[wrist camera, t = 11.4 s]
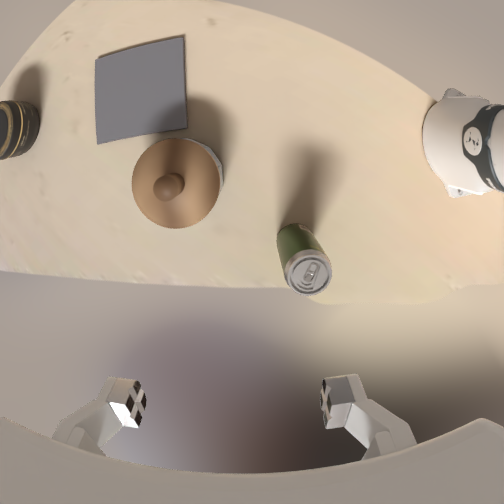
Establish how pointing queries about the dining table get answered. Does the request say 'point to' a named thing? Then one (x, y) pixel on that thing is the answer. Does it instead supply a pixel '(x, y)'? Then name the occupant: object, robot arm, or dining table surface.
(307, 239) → the beer can
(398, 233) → the dining table surface
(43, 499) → the robot arm
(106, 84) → the mat
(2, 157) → the jar
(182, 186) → the lid
